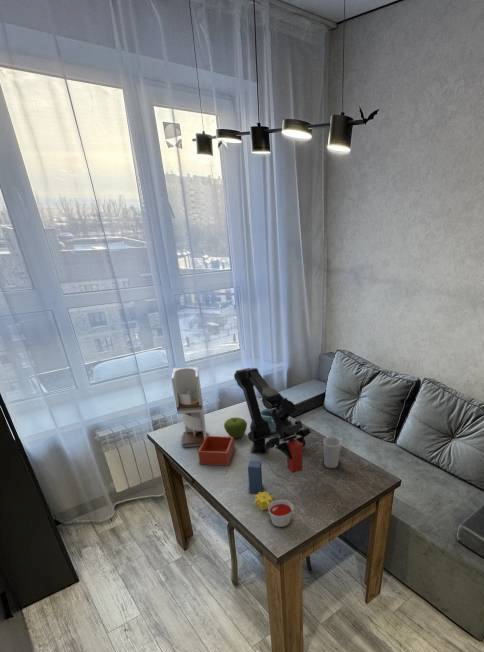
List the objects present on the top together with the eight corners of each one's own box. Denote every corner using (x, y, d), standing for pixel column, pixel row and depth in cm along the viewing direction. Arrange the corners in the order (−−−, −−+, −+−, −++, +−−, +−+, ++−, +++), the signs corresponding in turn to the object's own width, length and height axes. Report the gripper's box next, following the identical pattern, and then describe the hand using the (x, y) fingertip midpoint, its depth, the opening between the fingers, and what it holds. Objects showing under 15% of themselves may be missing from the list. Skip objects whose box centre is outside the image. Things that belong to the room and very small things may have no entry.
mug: (285, 436, 199) (285, 418, 194) (264, 440, 195) (263, 422, 190) (275, 422, 211) (274, 406, 205) (255, 426, 206) (254, 409, 201)
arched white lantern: (184, 435, 196) (173, 368, 178) (206, 433, 198) (197, 367, 181) (183, 447, 186) (171, 378, 169) (206, 445, 189) (197, 376, 171)
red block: (287, 468, 164) (286, 442, 158) (296, 464, 167) (296, 439, 160) (292, 473, 161) (293, 447, 155) (302, 469, 164) (302, 444, 157)
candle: (283, 532, 142) (283, 519, 139) (263, 522, 146) (263, 509, 143) (297, 518, 148) (298, 505, 145) (278, 509, 152) (278, 496, 149)
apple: (250, 432, 201) (249, 415, 196) (242, 443, 192) (240, 425, 187) (230, 429, 203) (229, 412, 197) (221, 439, 194) (219, 422, 189)
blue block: (251, 485, 164) (249, 460, 158) (262, 485, 164) (261, 461, 158) (249, 492, 160) (247, 467, 154) (260, 492, 160) (259, 467, 154)
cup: (338, 470, 176) (339, 447, 170) (320, 467, 177) (321, 444, 171) (341, 460, 183) (342, 438, 177) (324, 457, 184) (325, 435, 178)
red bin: (207, 447, 187) (206, 435, 184) (234, 448, 188) (233, 436, 184) (199, 464, 176) (198, 451, 172) (228, 465, 176) (227, 452, 173)
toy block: (279, 508, 153) (278, 497, 150) (260, 515, 149) (259, 504, 146) (269, 496, 159) (269, 485, 156) (251, 503, 155) (250, 492, 152)
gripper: (268, 421, 150) (284, 459, 148) (309, 409, 160) (324, 445, 158) (259, 430, 159) (273, 466, 157) (297, 418, 169) (312, 452, 167)
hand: (296, 457), depth 160 cm, fingers closed on red block, 4 cm apart
